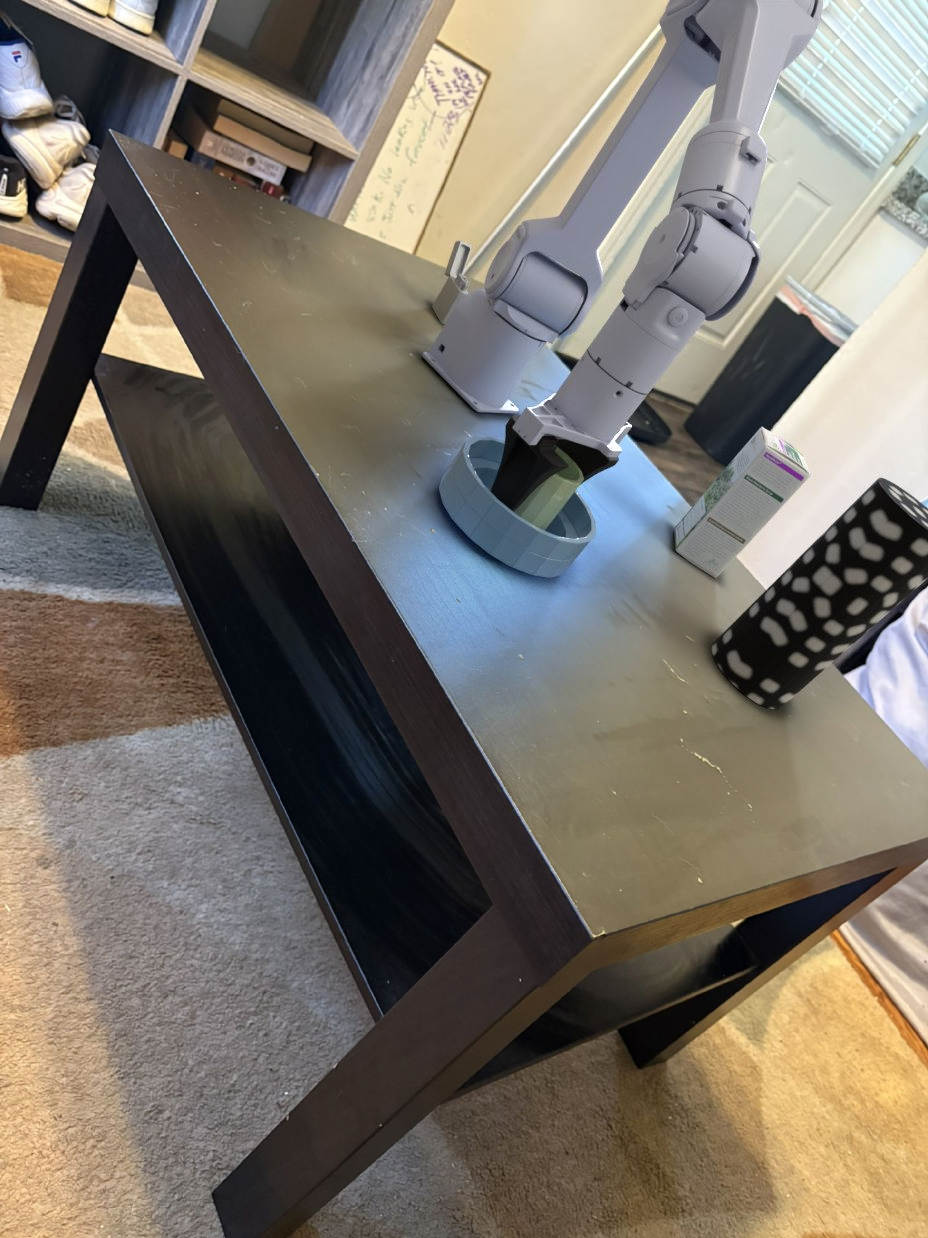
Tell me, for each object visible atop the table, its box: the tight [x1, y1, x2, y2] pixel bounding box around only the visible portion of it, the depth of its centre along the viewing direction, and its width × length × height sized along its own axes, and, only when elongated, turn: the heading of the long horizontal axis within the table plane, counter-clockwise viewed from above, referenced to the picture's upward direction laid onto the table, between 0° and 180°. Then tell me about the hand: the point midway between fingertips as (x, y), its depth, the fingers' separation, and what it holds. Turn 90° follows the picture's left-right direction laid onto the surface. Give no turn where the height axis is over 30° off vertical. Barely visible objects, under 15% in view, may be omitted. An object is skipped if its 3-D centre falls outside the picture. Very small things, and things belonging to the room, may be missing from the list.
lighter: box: [431, 240, 473, 325], centre depth 105 cm, size 7×2×8 cm, turn 20°
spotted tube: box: [711, 477, 928, 710], centre depth 75 cm, size 8×8×20 cm
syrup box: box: [673, 426, 812, 579], centre depth 91 cm, size 6×6×14 cm
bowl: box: [438, 436, 597, 579], centre depth 73 cm, size 13×13×4 cm
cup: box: [489, 445, 584, 531], centre depth 72 cm, size 6×6×7 cm
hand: (518, 505), depth 73 cm, fingers closed on cup, 6 cm apart
